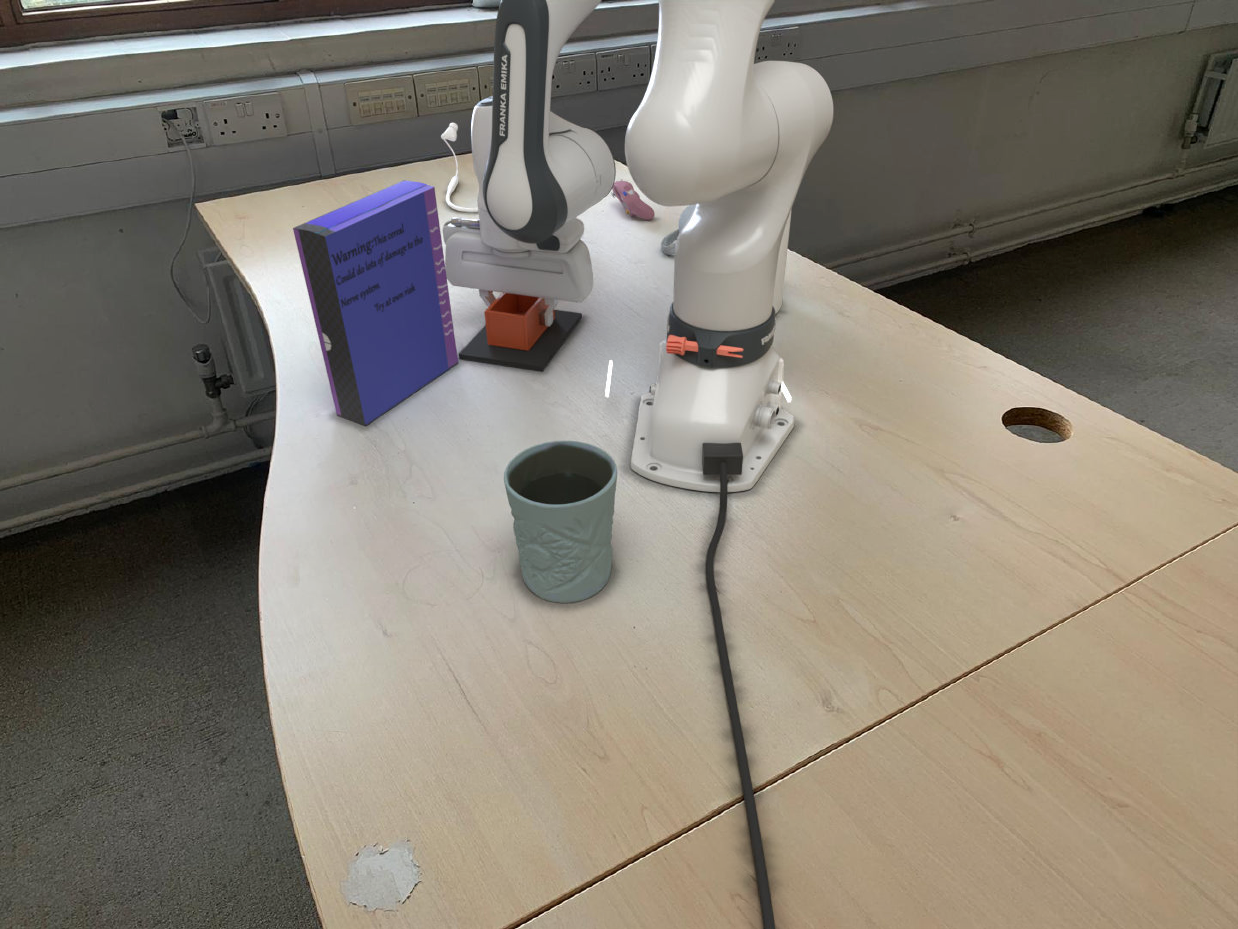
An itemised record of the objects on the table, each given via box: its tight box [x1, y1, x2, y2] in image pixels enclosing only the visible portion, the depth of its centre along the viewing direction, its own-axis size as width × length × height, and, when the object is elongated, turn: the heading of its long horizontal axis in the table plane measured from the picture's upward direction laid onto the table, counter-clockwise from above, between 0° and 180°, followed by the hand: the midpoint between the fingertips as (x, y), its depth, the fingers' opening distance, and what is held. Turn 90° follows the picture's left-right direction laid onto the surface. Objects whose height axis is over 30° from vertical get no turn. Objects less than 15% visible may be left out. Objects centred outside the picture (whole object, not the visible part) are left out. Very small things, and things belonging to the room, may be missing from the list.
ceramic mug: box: [660, 204, 697, 256], centre depth 147 cm, size 11×8×8 cm
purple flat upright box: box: [292, 179, 459, 427], centre depth 108 cm, size 17×5×24 cm, turn 149°
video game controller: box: [610, 178, 655, 221], centre depth 162 cm, size 10×5×7 cm, turn 17°
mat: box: [458, 309, 583, 372], centre depth 125 cm, size 16×12×1 cm
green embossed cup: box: [503, 440, 618, 604], centre depth 83 cm, size 10×10×12 cm
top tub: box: [484, 292, 556, 351], centre depth 124 cm, size 10×6×5 cm, turn 163°
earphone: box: [440, 122, 478, 213], centre depth 170 cm, size 14×17×18 cm
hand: (521, 320), depth 124 cm, fingers closed on top tub, 6 cm apart
